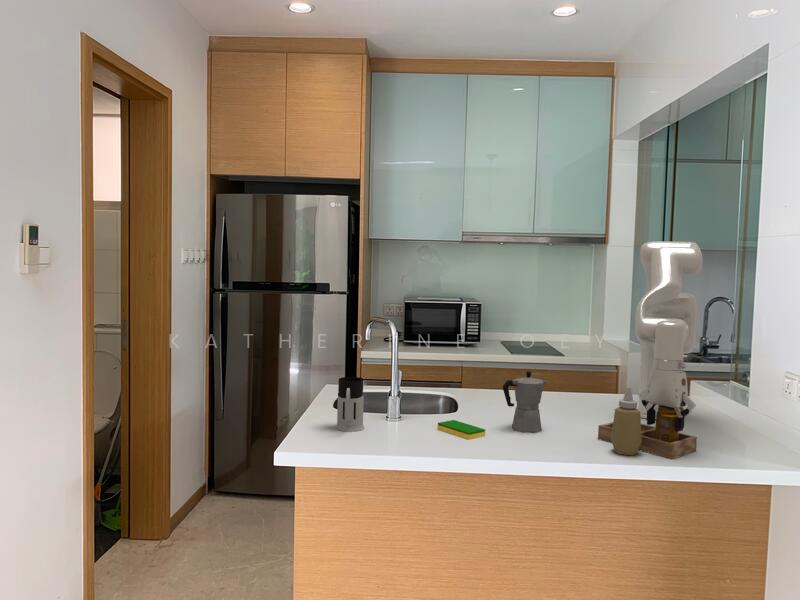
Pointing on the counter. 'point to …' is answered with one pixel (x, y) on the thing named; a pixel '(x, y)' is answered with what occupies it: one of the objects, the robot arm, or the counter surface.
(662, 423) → the condiment
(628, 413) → the squeeze bottle
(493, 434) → the counter surface
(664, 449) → the caddy
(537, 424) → the coffeepot
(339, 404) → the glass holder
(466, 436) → the dish sponge
